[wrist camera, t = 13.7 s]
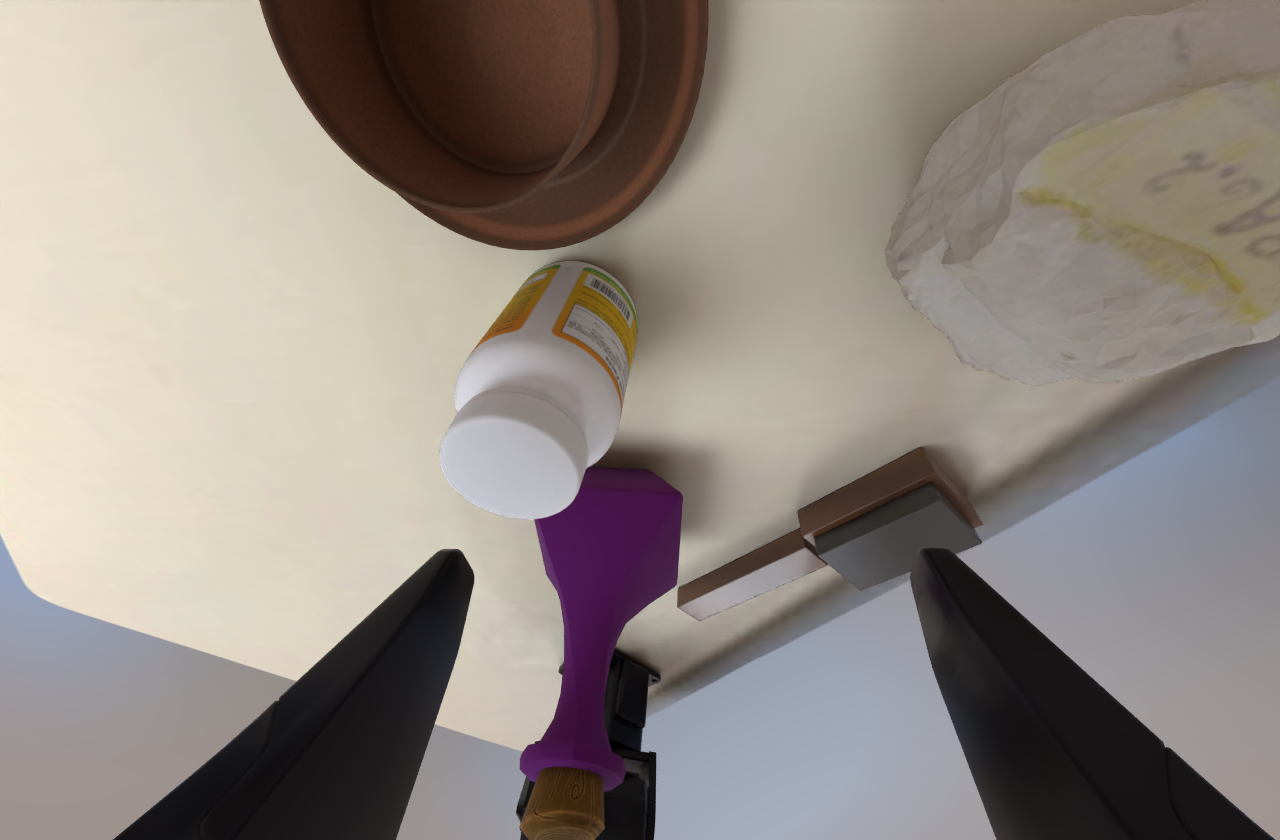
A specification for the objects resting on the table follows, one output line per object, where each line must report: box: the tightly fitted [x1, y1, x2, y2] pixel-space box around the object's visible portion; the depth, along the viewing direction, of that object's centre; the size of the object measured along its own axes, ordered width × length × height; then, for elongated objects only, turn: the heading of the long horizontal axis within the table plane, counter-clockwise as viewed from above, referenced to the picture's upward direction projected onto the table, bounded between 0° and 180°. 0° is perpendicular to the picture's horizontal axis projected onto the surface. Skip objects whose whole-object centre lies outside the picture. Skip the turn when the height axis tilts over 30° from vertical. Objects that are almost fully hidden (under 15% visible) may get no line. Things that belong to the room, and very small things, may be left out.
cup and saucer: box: [259, 0, 708, 250], centre depth 13 cm, size 12×12×6 cm
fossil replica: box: [885, 0, 1280, 387], centre depth 13 cm, size 12×8×10 cm
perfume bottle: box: [520, 466, 683, 840], centre depth 20 cm, size 8×8×18 cm
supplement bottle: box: [439, 261, 638, 519], centre depth 17 cm, size 5×5×10 cm
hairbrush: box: [677, 448, 983, 621], centre depth 27 cm, size 18×5×3 cm, turn 137°
